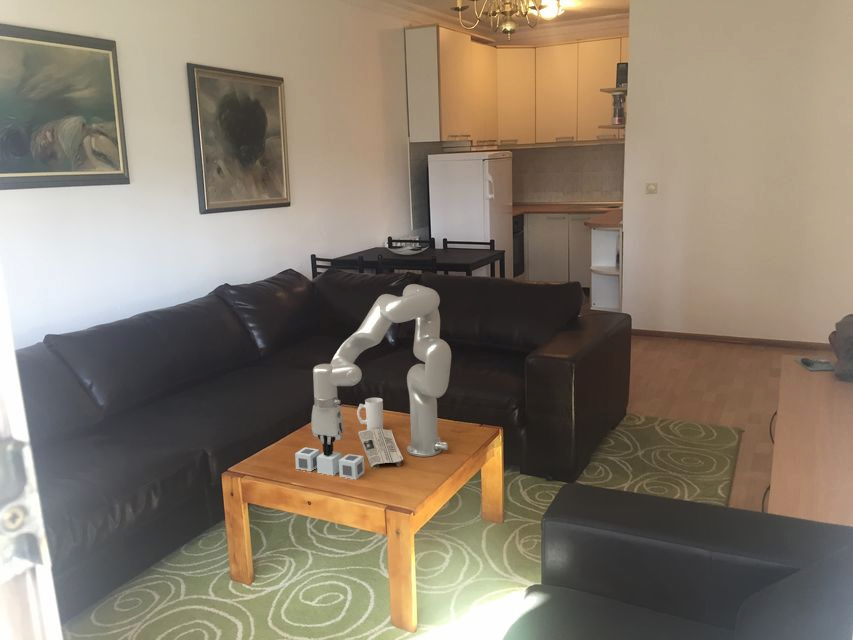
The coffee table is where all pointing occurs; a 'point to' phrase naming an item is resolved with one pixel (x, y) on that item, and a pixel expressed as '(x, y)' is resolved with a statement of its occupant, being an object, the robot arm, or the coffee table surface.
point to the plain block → (328, 463)
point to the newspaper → (380, 447)
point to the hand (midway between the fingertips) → (328, 454)
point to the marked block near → (351, 466)
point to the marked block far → (307, 459)
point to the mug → (372, 413)
